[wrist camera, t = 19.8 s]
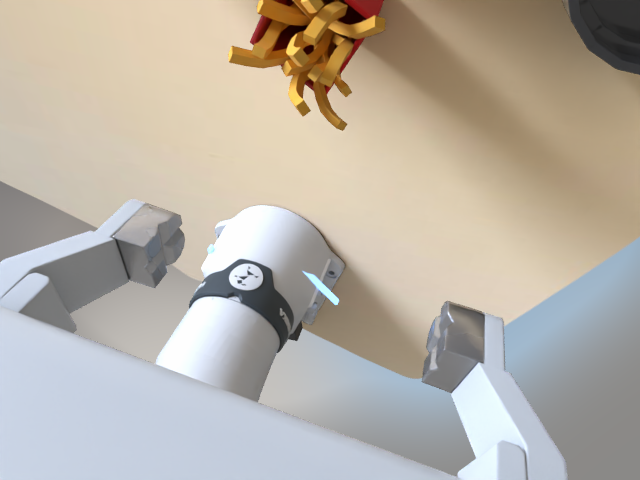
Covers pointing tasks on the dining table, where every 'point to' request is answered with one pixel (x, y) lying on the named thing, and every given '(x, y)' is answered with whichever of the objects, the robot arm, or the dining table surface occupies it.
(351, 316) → the dining table surface
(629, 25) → the pan
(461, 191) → the dining table surface
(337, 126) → the french fries
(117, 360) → the robot arm
